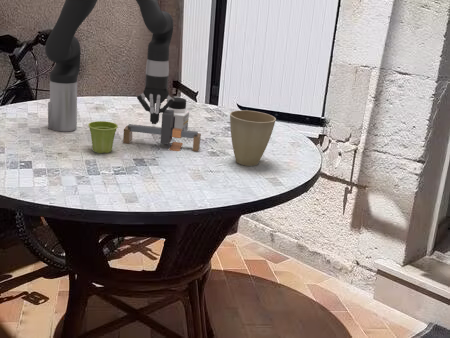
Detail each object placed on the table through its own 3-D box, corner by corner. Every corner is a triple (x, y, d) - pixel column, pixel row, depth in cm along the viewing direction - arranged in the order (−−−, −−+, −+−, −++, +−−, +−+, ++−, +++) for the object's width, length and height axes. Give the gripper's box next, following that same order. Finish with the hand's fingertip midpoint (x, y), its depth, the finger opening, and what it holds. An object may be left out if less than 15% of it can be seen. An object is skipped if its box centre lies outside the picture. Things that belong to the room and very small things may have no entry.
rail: (121, 144, 190) (122, 126, 188) (127, 137, 199) (128, 120, 197) (197, 153, 190) (199, 135, 187) (200, 145, 198) (201, 128, 196)
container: (182, 135, 208) (184, 101, 203) (162, 132, 209) (164, 98, 205) (187, 130, 215) (190, 97, 211) (168, 127, 216) (170, 94, 212)
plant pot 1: (122, 149, 185) (123, 124, 182) (107, 157, 177) (108, 130, 174) (97, 144, 188) (98, 119, 185) (81, 151, 179) (82, 125, 177)
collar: (160, 143, 190) (162, 114, 187) (163, 137, 197) (165, 109, 193) (169, 144, 190) (171, 115, 187) (172, 138, 197) (174, 110, 193)
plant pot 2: (255, 173, 176) (262, 124, 171) (216, 161, 183) (221, 114, 178) (277, 163, 188) (283, 117, 183) (239, 152, 195) (244, 107, 190)
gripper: (135, 73, 182) (132, 124, 188) (175, 77, 182) (171, 128, 188) (139, 69, 190) (137, 118, 195) (178, 73, 189) (175, 123, 195)
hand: (154, 123), depth 192 cm, fingers closed
